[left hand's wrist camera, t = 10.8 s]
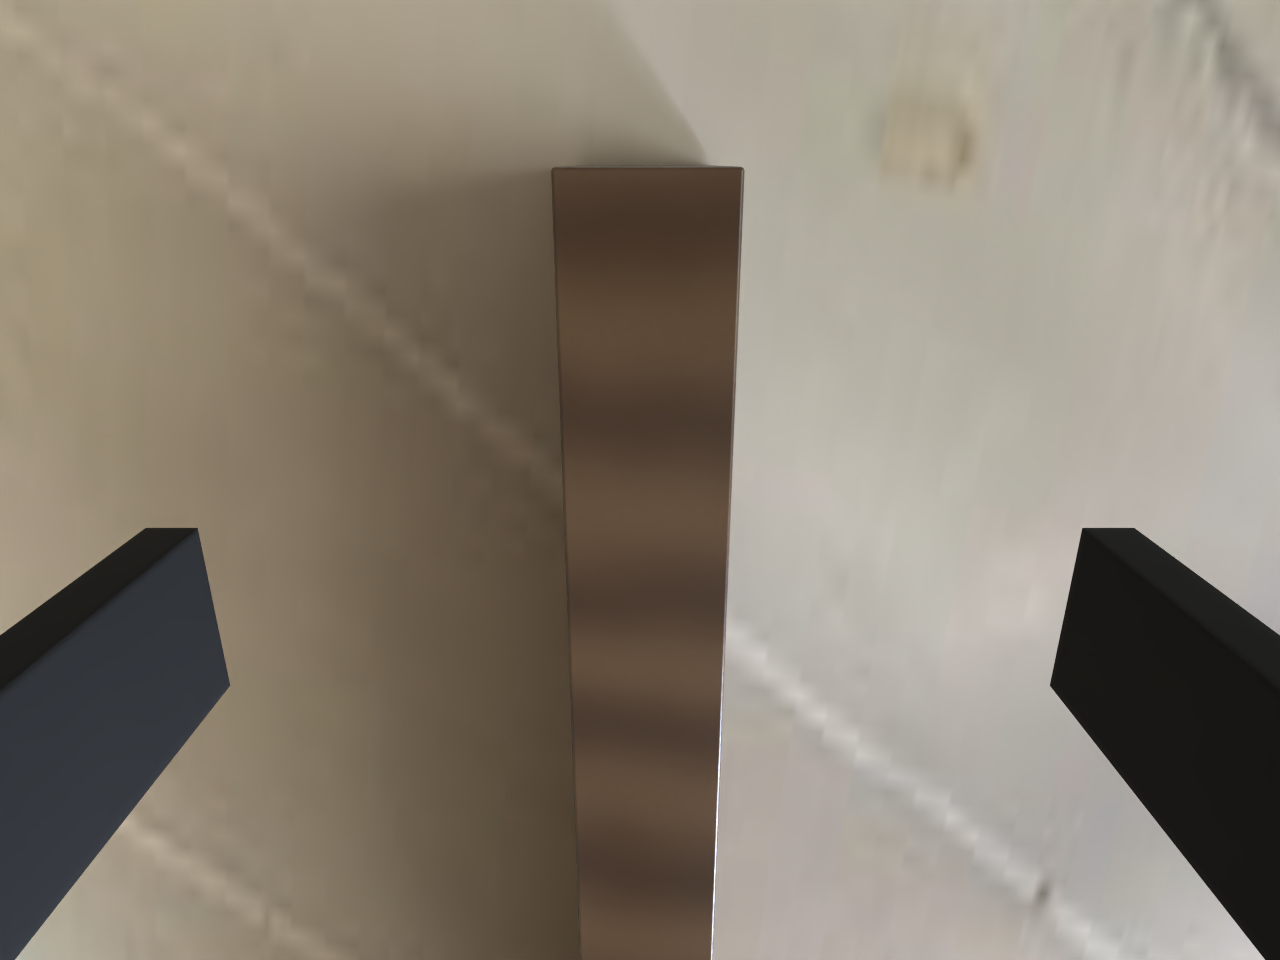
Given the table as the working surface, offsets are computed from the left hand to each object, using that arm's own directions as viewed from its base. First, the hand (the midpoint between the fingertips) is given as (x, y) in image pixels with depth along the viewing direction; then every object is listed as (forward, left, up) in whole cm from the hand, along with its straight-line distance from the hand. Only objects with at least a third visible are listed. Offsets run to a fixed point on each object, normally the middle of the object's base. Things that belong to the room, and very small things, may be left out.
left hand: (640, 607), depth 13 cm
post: (-9, +27, -20) cm, 35 cm away
